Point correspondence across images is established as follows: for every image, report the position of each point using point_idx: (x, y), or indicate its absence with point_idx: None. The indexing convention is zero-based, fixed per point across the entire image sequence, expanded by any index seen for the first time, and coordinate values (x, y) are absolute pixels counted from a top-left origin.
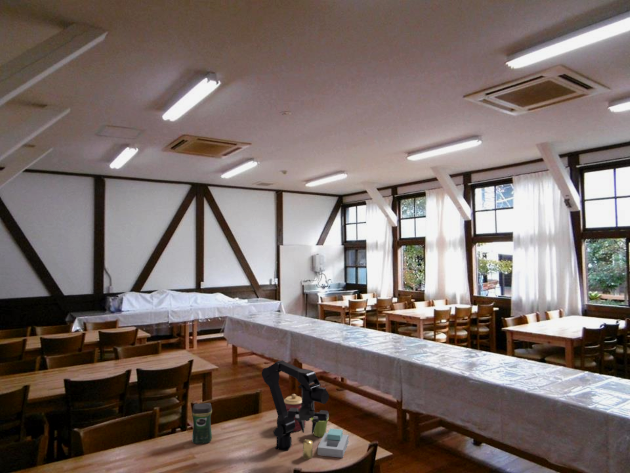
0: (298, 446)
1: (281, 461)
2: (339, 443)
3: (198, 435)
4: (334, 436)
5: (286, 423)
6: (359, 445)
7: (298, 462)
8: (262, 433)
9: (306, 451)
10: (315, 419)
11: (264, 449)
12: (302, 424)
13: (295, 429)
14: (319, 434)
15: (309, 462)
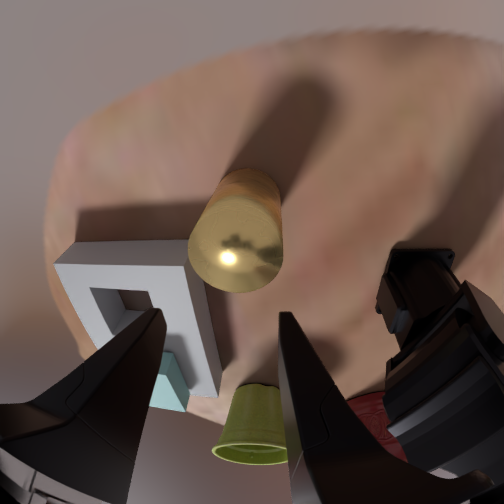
0: (336, 304)
1: (405, 105)
2: (102, 323)
3: None
4: None
5: (479, 383)
6: (86, 341)
7: (288, 108)
8: None
9: (241, 185)
10: (10, 455)
11: (492, 236)
12: (293, 415)
13: (361, 400)
14: (252, 392)
15: (211, 129)
